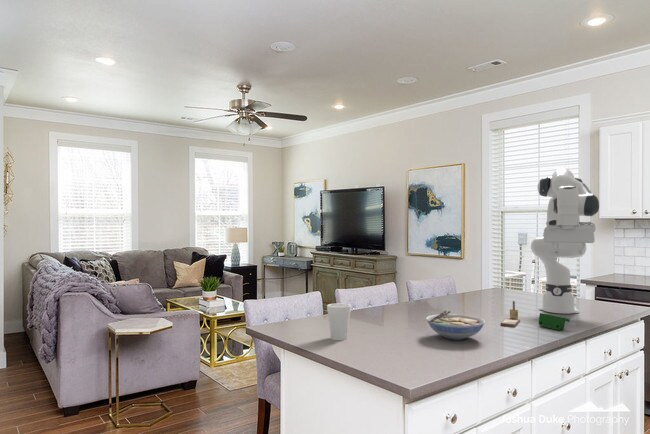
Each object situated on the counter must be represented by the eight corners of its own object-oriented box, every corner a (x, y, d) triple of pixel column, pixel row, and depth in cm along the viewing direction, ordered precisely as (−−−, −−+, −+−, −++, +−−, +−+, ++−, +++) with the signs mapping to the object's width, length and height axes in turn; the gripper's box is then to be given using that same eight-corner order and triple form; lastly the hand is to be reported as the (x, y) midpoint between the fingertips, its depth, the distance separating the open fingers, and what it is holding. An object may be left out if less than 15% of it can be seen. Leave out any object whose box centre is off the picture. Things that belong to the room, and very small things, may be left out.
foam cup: (322, 337, 184) (322, 304, 185) (342, 334, 189) (342, 302, 189) (335, 342, 176) (335, 308, 176) (355, 339, 181) (355, 306, 181)
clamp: (564, 339, 199) (574, 321, 197) (554, 337, 197) (565, 319, 194) (544, 323, 210) (553, 306, 207) (534, 321, 207) (544, 304, 205)
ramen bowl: (476, 349, 167) (476, 326, 167) (416, 340, 179) (416, 319, 179) (492, 335, 188) (491, 315, 188) (437, 328, 200) (437, 309, 200)
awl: (510, 319, 221) (510, 300, 221) (518, 319, 219) (518, 300, 219) (509, 320, 217) (509, 301, 218) (517, 321, 216) (517, 302, 216)
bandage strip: (506, 320, 217) (505, 317, 217) (519, 321, 214) (519, 319, 214) (500, 325, 206) (500, 322, 206) (514, 327, 203) (514, 324, 203)
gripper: (595, 222, 202) (595, 253, 201) (544, 222, 213) (544, 252, 212) (595, 221, 196) (595, 254, 196) (542, 221, 207) (542, 252, 206)
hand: (568, 253), depth 204 cm, fingers open, 8 cm apart
